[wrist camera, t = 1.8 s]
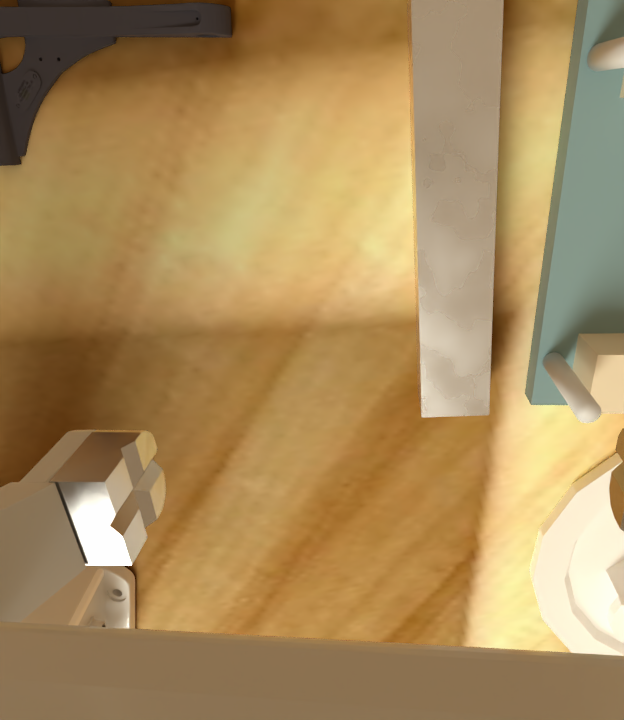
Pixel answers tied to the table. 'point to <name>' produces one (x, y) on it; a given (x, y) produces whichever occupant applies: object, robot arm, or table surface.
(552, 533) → the dish
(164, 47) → the table surface
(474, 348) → the long grey flat plank
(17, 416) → the table surface
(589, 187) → the rack
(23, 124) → the bracket
